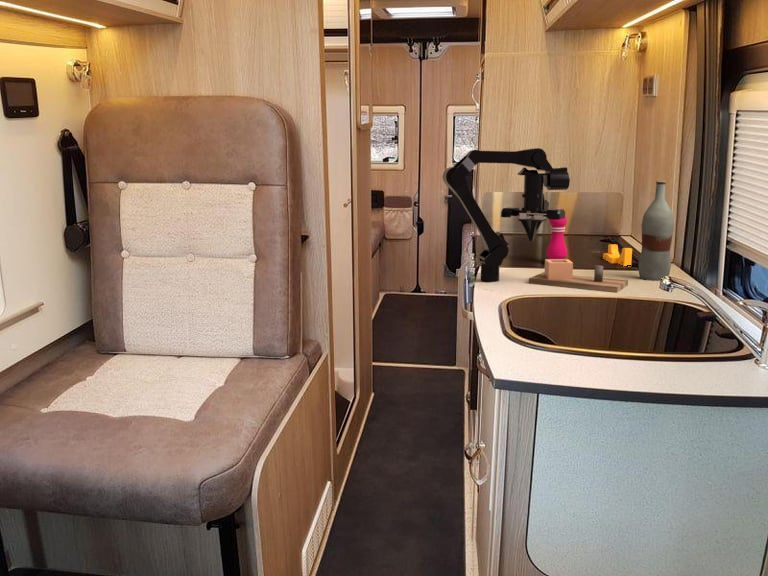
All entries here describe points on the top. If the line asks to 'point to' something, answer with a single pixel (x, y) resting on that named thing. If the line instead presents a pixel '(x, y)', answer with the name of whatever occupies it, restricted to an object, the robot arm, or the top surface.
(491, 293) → the top surface
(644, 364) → the top surface
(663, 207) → the bottle
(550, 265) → the collar
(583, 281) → the collar board
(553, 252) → the pepper mill
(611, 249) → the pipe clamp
